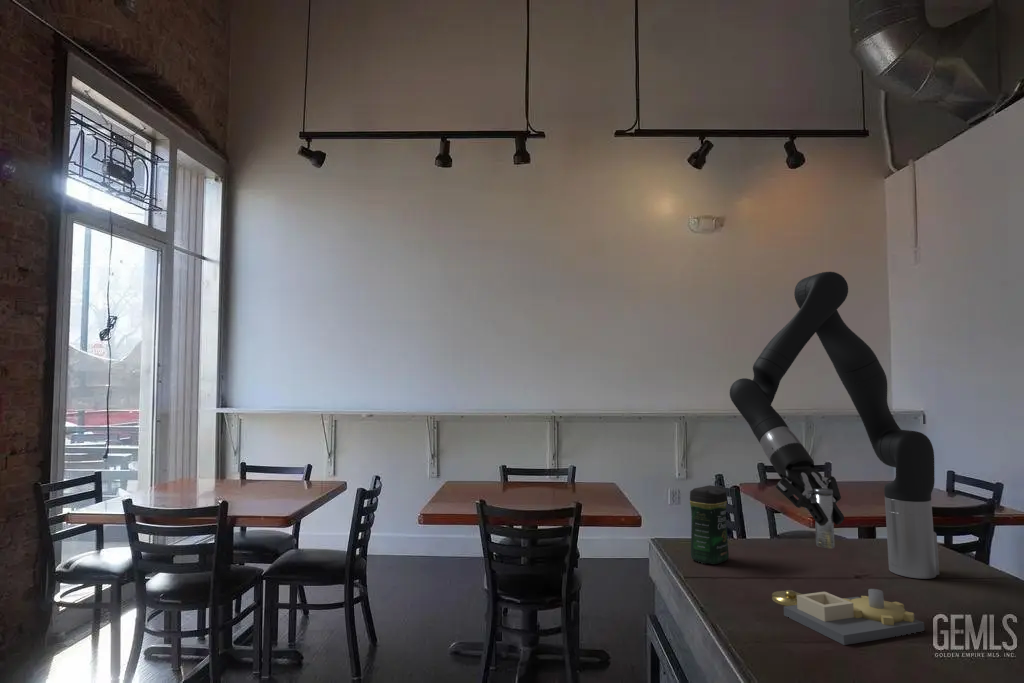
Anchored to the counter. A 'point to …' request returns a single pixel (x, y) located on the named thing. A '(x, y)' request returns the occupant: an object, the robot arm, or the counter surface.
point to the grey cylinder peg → (827, 531)
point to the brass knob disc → (785, 597)
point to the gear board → (853, 617)
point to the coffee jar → (708, 525)
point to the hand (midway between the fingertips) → (832, 522)
